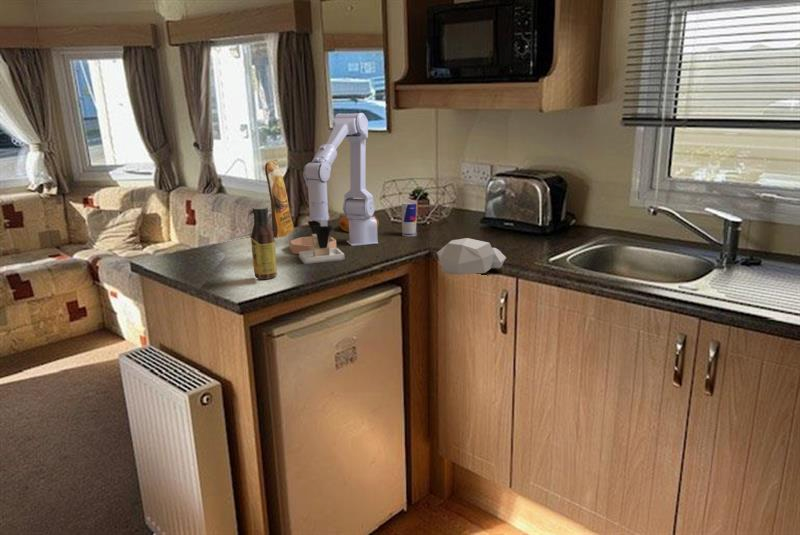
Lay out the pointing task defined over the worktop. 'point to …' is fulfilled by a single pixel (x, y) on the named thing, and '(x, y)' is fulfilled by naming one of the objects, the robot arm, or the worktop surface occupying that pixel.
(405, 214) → the energy drink
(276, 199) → the pancake mix bag
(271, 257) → the sauce bottle
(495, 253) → the rock
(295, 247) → the pinkish-brown octagonal ring
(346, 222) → the croissant
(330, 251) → the tray
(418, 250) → the worktop surface
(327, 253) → the beech peg
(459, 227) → the worktop surface
